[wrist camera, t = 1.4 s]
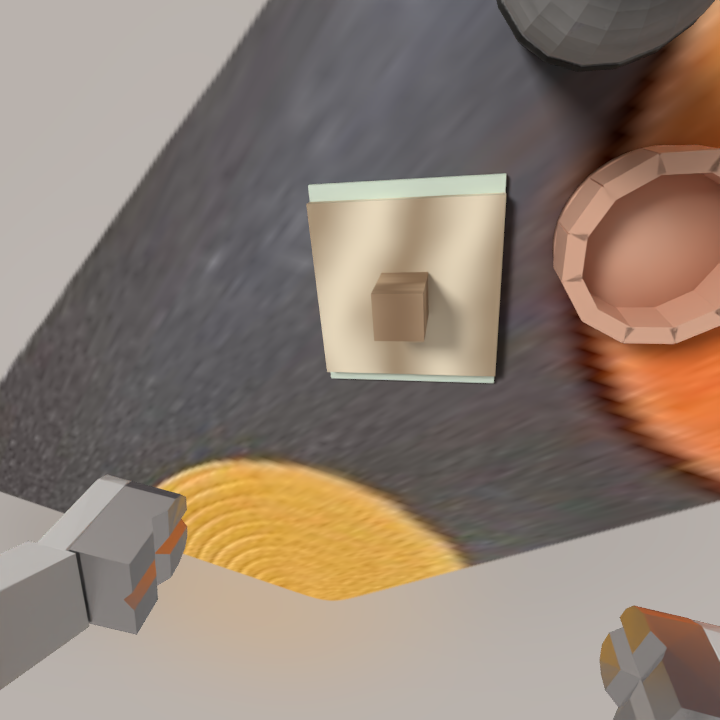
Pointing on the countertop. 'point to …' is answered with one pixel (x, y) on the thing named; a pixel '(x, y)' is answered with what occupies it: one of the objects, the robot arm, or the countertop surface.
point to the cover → (409, 283)
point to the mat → (409, 189)
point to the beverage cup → (598, 29)
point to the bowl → (645, 245)
